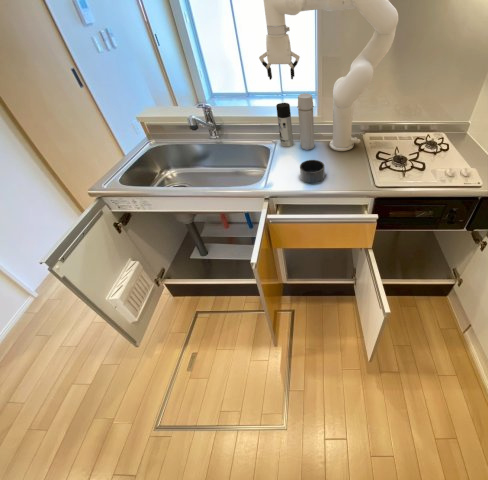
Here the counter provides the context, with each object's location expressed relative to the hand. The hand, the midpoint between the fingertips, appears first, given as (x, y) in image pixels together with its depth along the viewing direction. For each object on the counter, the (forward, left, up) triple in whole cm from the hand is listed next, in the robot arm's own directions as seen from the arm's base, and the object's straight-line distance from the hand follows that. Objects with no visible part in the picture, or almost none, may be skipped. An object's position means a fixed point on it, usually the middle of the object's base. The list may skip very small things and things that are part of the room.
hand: (281, 78), depth 119 cm
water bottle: (-10, +2, -32) cm, 33 cm away
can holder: (-13, +31, -31) cm, 46 cm away
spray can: (+1, -1, -32) cm, 32 cm away
